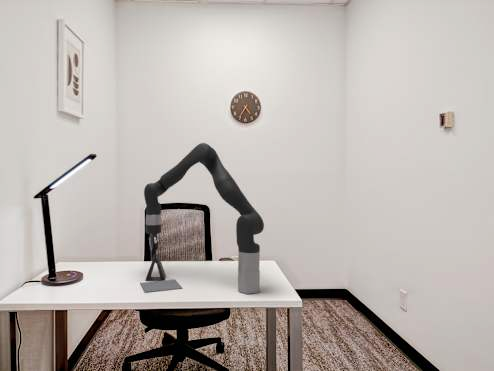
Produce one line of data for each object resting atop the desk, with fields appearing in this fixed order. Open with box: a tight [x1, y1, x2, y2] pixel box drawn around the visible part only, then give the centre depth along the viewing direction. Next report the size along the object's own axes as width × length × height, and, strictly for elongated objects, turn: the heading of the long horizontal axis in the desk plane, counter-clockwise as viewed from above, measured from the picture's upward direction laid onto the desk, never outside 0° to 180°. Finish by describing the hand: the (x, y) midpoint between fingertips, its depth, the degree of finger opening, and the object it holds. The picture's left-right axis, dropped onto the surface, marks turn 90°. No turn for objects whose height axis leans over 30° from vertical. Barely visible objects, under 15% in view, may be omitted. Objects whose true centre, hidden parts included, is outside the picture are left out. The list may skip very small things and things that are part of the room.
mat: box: [140, 279, 183, 294], centre depth 165 cm, size 14×16×1 cm
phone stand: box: [144, 252, 167, 282], centre depth 176 cm, size 9×6×12 cm, turn 96°
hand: (153, 258), depth 183 cm, fingers closed
